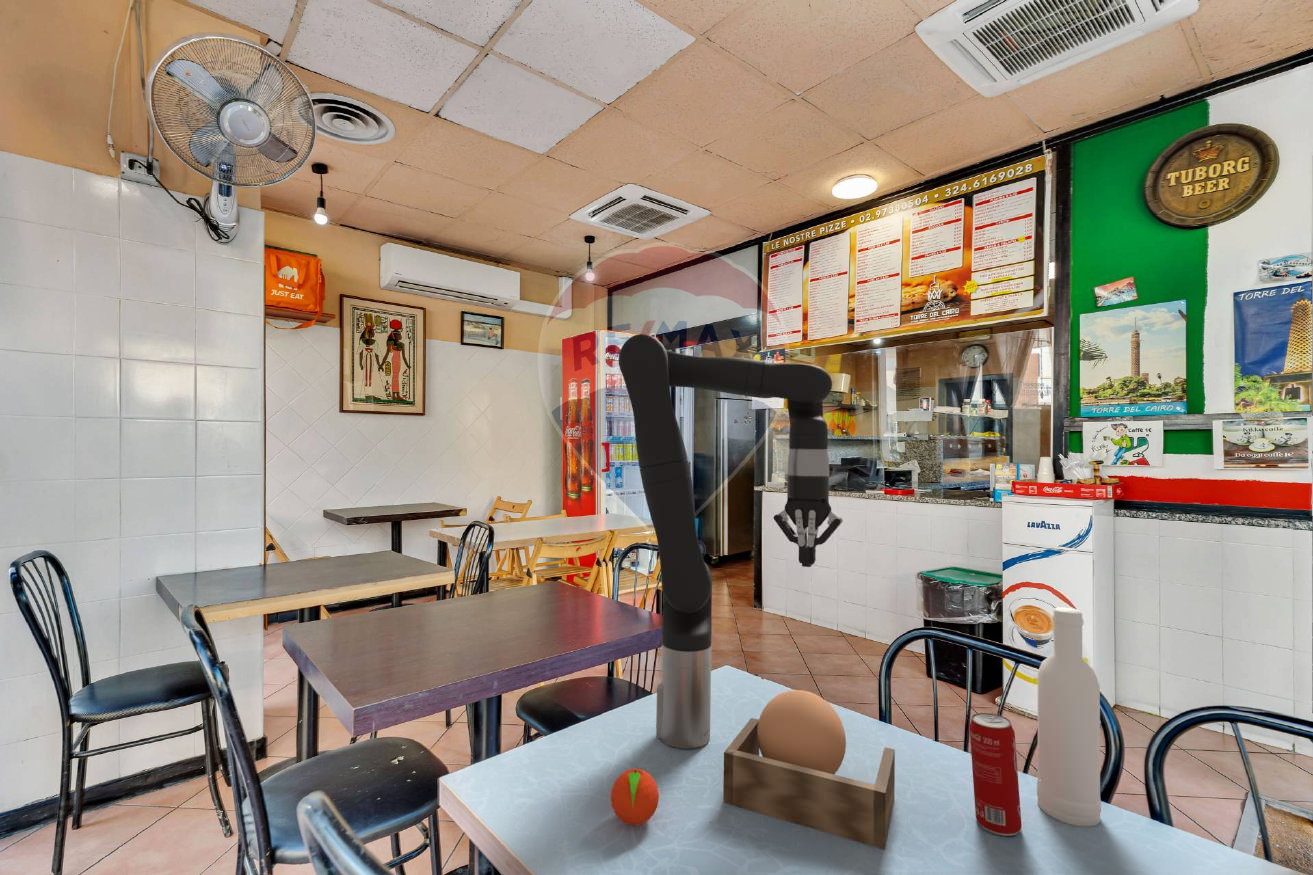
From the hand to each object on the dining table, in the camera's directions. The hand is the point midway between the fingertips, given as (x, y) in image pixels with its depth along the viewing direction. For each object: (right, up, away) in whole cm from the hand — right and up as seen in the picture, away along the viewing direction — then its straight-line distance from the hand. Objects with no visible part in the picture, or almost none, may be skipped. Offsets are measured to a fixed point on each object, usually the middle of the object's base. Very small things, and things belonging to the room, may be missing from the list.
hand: (807, 566), depth 112 cm
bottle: (+33, -32, -22) cm, 52 cm away
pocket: (-4, -31, -20) cm, 37 cm away
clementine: (-31, -31, -27) cm, 52 cm away
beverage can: (+21, -32, -26) cm, 46 cm away
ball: (-5, -25, -15) cm, 29 cm away
